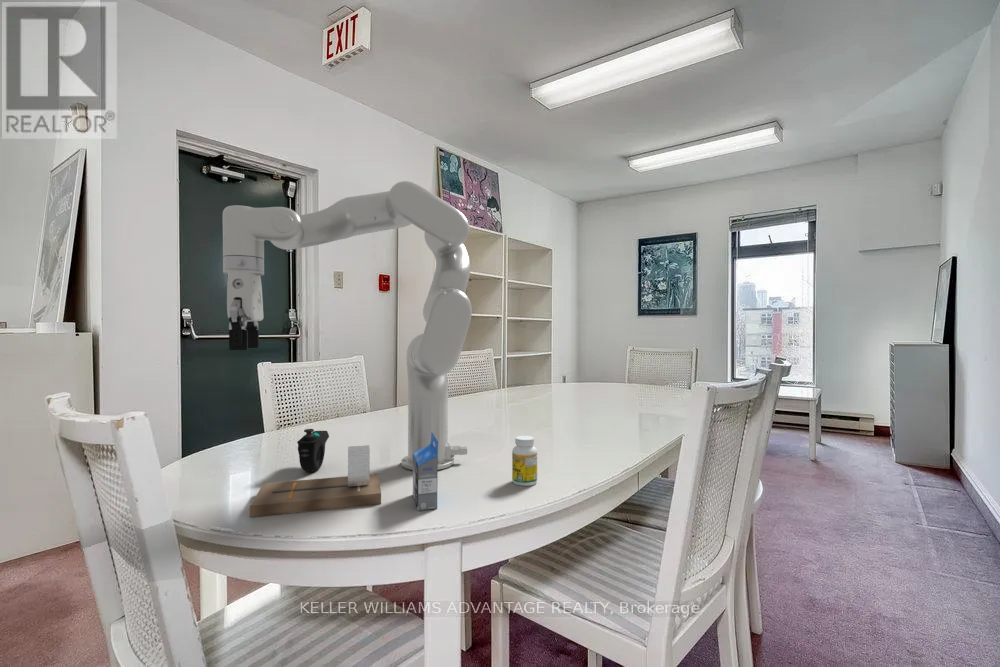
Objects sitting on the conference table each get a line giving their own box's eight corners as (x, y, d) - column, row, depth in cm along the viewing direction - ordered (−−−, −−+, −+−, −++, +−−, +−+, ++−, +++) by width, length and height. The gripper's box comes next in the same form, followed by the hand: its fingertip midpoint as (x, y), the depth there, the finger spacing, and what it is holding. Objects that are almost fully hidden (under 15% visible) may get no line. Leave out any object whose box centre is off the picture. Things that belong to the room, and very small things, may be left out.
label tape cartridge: (411, 494, 91) (412, 432, 91) (431, 492, 92) (431, 431, 92) (417, 511, 83) (417, 443, 83) (438, 509, 84) (439, 441, 84)
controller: (294, 478, 101) (294, 432, 100) (312, 461, 113) (313, 421, 113) (314, 477, 101) (314, 432, 101) (330, 461, 113) (331, 420, 113)
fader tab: (369, 479, 93) (369, 445, 93) (369, 484, 90) (369, 448, 90) (348, 481, 92) (348, 446, 91) (347, 486, 89) (347, 450, 89)
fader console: (378, 483, 98) (378, 473, 98) (381, 503, 86) (381, 492, 86) (263, 493, 91) (263, 482, 91) (249, 517, 80) (249, 505, 80)
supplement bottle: (541, 484, 97) (542, 439, 97) (519, 488, 95) (519, 441, 95) (529, 477, 102) (529, 433, 102) (507, 480, 100) (508, 436, 100)
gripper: (254, 262, 89) (254, 350, 89) (272, 272, 106) (272, 347, 106) (209, 260, 87) (211, 351, 87) (235, 271, 104) (236, 347, 104)
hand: (244, 348), depth 96 cm, fingers open, 9 cm apart
